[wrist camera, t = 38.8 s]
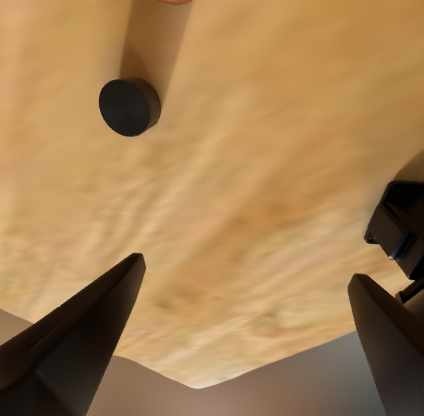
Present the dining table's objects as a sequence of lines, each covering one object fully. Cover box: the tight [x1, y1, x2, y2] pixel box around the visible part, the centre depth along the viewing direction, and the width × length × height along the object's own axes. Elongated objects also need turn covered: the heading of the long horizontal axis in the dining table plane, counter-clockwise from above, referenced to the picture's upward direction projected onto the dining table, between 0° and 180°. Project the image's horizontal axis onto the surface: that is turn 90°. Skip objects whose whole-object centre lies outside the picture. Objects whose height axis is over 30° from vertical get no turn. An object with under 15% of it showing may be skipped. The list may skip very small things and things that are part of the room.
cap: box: [99, 78, 161, 137], centre depth 17 cm, size 4×4×2 cm
